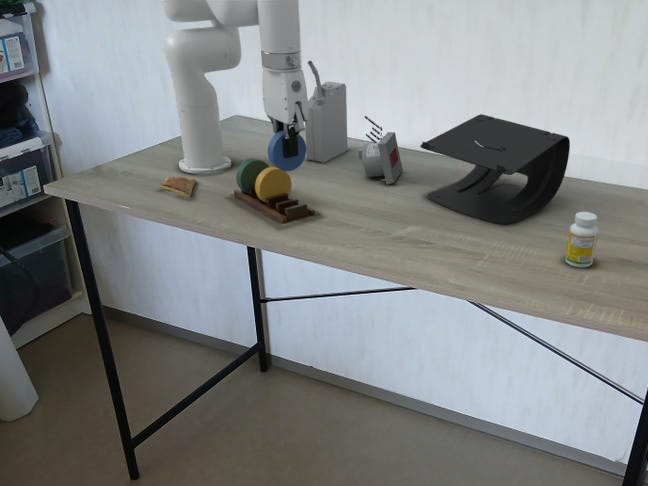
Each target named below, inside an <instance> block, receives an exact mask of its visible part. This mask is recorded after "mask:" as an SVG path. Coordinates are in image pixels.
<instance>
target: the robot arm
mask: <svg viewBox="0 0 648 486" xmlns="http://www.w3.org/2000/svg"><path fill="white" fill-rule="evenodd" d="M161 5H162V7H163V11H164V13H165V16H166V17H167V18H168V19H169V20H170V21H172V22H175V23H195V22H206V21H207V22H208V21H210V22H211V24H212V26H208V27H207V26H206V27H195V28H194V27H193V28H192V27H191V28H184V29H183V28H182V29H178V30H175V31H172V32H171V33H169V34H168V35H167V36H166V37H165V39H164V41H163V51H164V55H165V59H166V63H167V65H168V69H169V73H170V76H171V80H172V85H173V90H174V98H175V103H176V110H177V115H178V123H179V130H180V137H181V143H182V144H181V145H182V150H183V157H184V158H182V159H181V160H179V162H178V167H179V170H181V171H182V172H183V173H186V174H187V173H188V174H193V175H201V174H203V173H208V172H209V173H211V172H217V171H220V170H225V169H228V168H230V167H232V159H231V158H229V157H228V156H226V155H225V152H224V145H223V143H224V142H223V135H222V127H221V126H222V125H221V120H220V119H221V118H220V110H219V102H218V94H217V91H216V88H215V87H214V86H213V84H212V83H211V82H210V80H209V79H207V77H206V76H205V74H208V73H211V72H212V73H213V72H220V71H227V70H233V69H235V68H237V67H238V66H240V63H241V61H242V44H241V43H242V42H241V37H240V30H239V29H240V28H244V27H255V26H258V29H259V42H260V56H261V69H262V79H261V80H262V83H261V84H262V102H263V103H262V104H263V109H264V113H265V114H266V117H267V119H269V121H270V123H271V124H272V130H273V131H272V132H273V134H274V135H275V134H276V133H278V132H279V131H282V130H284V137H285V138H283V153H284V157H285V158H290V157H295V156H298V137H299V135H300V133H301V132H303V131H305V122H307V121H308V120H309V108H308V101H309V99H308V97H309V96H308V91H307V89H308V88H307V84H306V78H305V74H304V70H303V66H302V65H303V64H302V45H301V43H302V41H301V22H300V1H299V0H161Z"/></svg>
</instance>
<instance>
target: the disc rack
mask: <svg viewBox="0 0 648 486" xmlns="http://www.w3.org/2000/svg"><path fill="white" fill-rule="evenodd" d="M248 191H249V194H247V193H245V192H244V191H242V190H241V189H234V190H233V193H231V194H229V196H230V197H232V198H233V199H235V200H237V201H239V202H240V203H242V204H243V205H245V206H247V207H249V208H251V209H252V210H254V211H256V212H257V213H259V214H261V215H262V216H264V217H266V218H267V219H269V220H271V221H273V222H274V223H275V224H278V225H279V226H281V225H285V224H290V223H293V222H297V221H299V220H304V219H307V218H310V217H314V216H315V217H316V216H319V215H321V213H320V212H318V211H316V209H314V208H313V207H311V206H309V205H308V204H307V203H306V202H301V201H300V200H299V199H298V198H296V197H295V198H294V197H292V196H291V195H289V196H288V194H287V193H283V194H279V195H275V196H271V197H267V198H266V203H265V202H263V201H262V200H260V199H259V197H258V196H257V194H256V191H255V186H254V187H250V188H248Z"/></svg>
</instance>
